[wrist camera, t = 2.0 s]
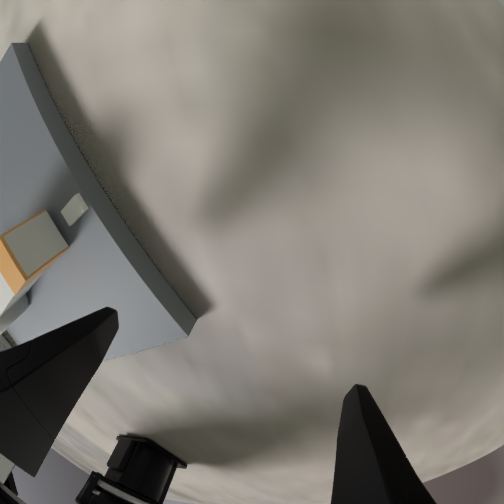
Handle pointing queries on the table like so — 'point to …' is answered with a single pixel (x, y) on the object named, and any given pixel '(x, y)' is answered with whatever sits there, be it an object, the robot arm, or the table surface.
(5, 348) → the medicine box
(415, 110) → the table surface
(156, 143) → the table surface
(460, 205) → the table surface
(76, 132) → the table surface
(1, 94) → the dial board
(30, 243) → the white and tan block
